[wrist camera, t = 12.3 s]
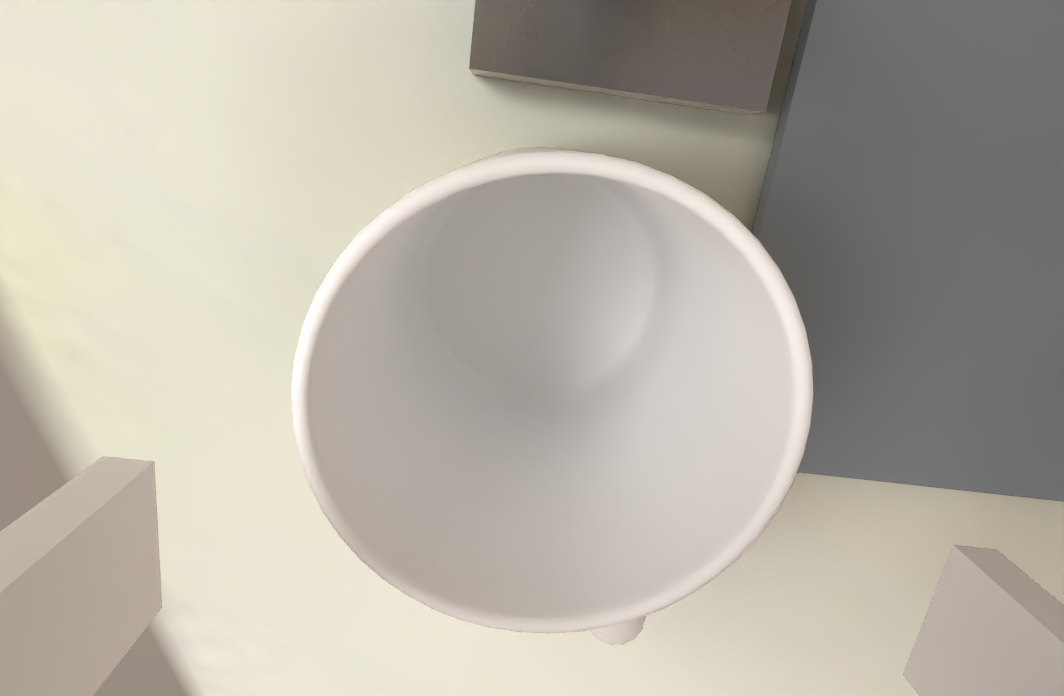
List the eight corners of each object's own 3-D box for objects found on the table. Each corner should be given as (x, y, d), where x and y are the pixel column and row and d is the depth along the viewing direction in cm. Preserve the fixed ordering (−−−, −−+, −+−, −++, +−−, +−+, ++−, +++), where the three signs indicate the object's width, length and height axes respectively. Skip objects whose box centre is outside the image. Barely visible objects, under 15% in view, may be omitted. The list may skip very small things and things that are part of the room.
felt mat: (848, -167, 16) (861, -179, 15) (1341, -79, 17) (1370, -87, 16) (698, 453, 21) (703, 461, 21) (1074, 494, 22) (1089, 504, 22)
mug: (704, 467, 22) (857, 733, 12) (477, 520, 22) (446, 817, 12) (638, 115, 18) (782, 79, 8) (368, 187, 18) (200, 235, 9)
